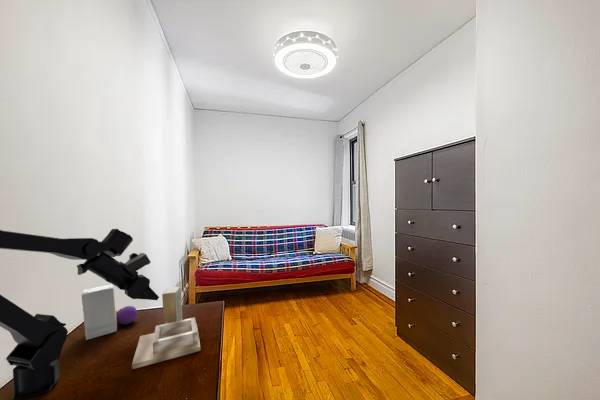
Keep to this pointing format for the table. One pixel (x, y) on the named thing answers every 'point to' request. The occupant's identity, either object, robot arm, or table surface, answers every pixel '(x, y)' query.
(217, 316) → the table surface
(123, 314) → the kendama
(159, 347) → the collar holder
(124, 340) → the table surface
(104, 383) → the table surface
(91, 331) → the skincare box
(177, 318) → the skincare box
